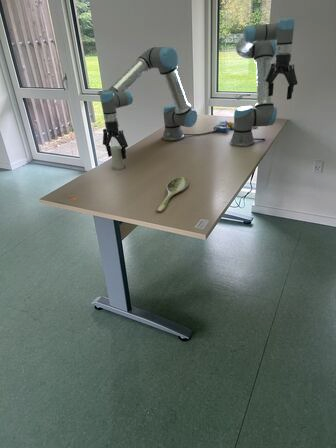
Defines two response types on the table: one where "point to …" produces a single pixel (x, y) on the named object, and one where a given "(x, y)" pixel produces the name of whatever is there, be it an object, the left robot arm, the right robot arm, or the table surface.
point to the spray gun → (223, 126)
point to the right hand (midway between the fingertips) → (279, 97)
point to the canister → (117, 157)
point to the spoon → (174, 190)
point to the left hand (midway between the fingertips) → (117, 157)
